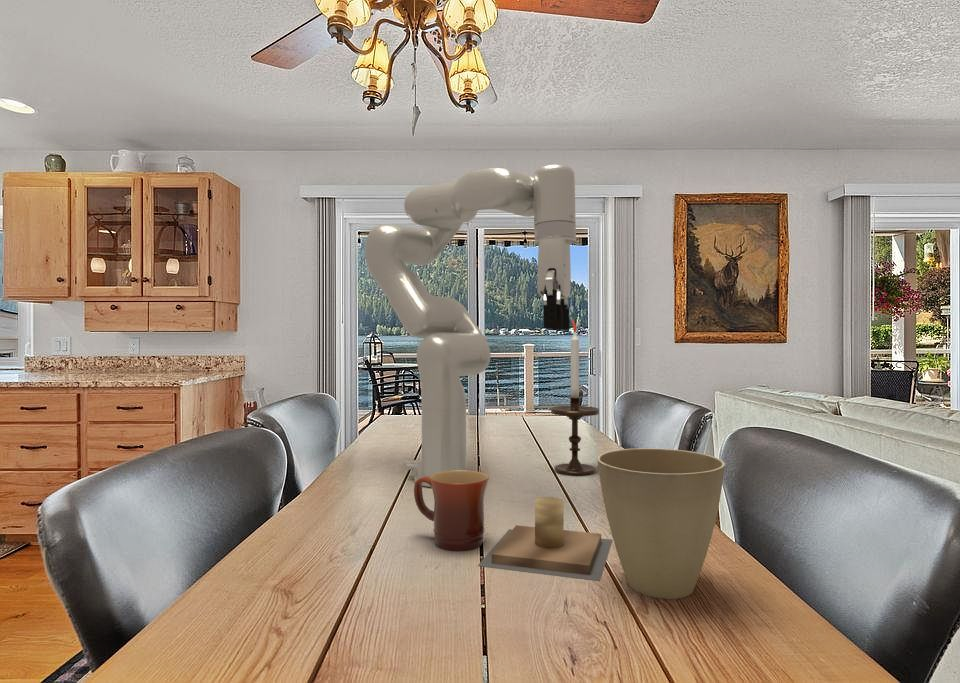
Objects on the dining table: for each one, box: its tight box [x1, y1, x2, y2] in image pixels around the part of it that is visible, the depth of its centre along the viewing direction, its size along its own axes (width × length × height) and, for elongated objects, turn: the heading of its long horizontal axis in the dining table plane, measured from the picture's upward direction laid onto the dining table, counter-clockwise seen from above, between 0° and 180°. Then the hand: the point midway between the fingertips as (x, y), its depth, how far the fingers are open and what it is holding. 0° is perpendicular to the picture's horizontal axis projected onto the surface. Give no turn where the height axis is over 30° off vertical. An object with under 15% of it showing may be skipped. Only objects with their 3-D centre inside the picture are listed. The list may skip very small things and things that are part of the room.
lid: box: [492, 496, 602, 575], centre depth 85 cm, size 13×13×7 cm
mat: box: [477, 528, 614, 582], centre depth 85 cm, size 16×16×1 cm
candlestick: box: [550, 319, 600, 477], centre depth 138 cm, size 11×11×35 cm
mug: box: [413, 469, 490, 552], centre depth 90 cm, size 12×9×10 cm
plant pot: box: [596, 447, 726, 600], centre depth 74 cm, size 15×15×16 cm
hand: (557, 329), depth 110 cm, fingers open, 9 cm apart
